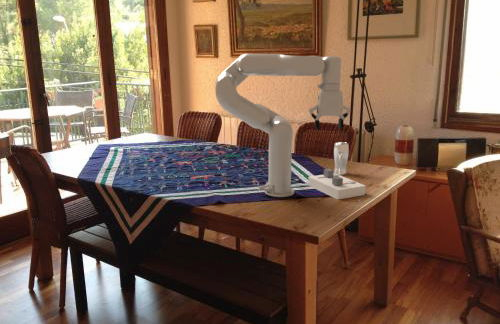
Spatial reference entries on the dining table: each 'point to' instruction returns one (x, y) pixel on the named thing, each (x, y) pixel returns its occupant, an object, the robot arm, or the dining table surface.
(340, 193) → the switch panel
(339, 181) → the front switch
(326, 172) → the back switch
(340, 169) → the beer glass
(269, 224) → the dining table surface
